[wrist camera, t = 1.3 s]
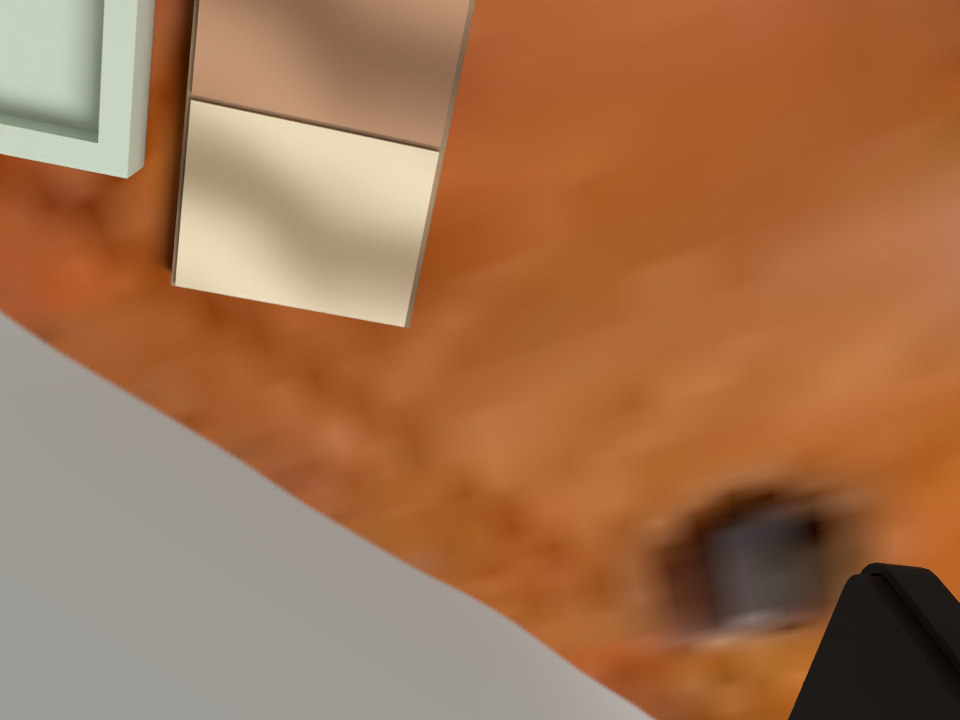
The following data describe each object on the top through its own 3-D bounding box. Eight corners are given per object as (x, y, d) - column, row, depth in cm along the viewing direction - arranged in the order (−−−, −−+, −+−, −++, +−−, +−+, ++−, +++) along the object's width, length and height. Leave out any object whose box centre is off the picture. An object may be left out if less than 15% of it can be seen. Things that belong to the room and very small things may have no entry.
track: (236, -402, 25) (227, -418, 24) (537, -314, 26) (541, -325, 25) (177, 276, 33) (169, 287, 32) (409, 318, 35) (408, 330, 34)
